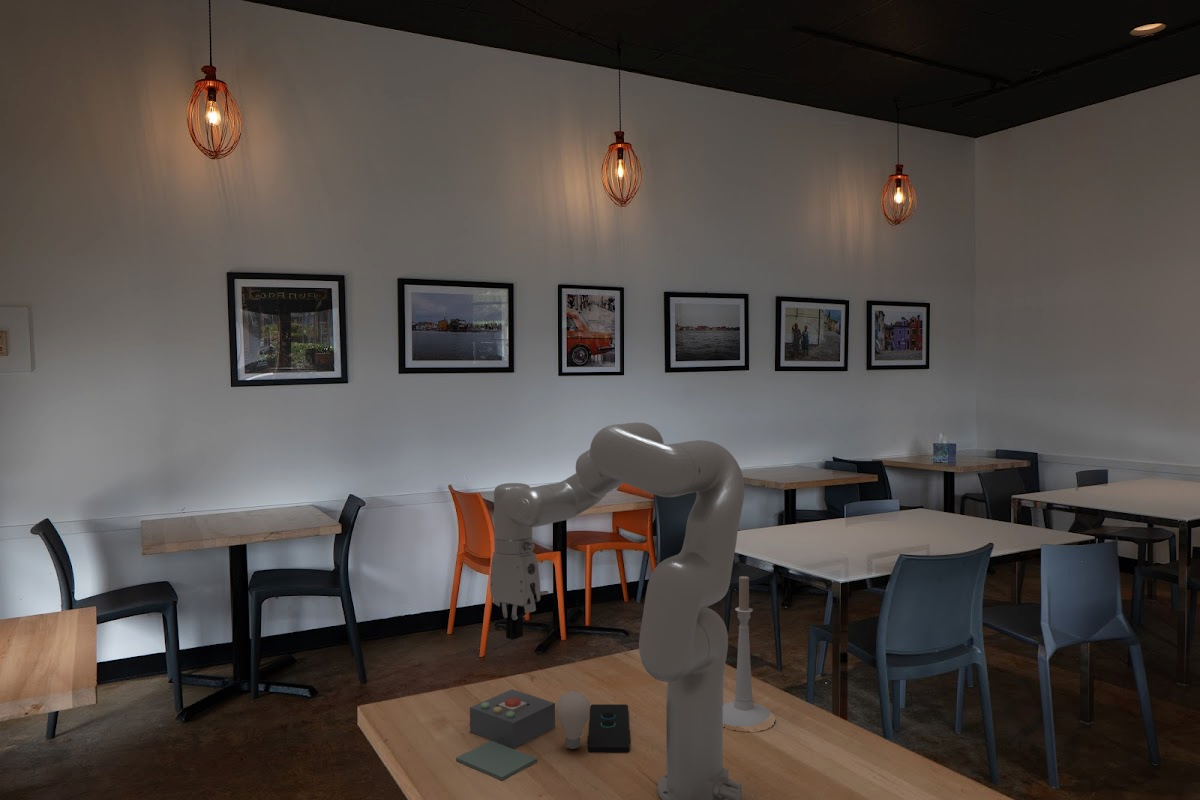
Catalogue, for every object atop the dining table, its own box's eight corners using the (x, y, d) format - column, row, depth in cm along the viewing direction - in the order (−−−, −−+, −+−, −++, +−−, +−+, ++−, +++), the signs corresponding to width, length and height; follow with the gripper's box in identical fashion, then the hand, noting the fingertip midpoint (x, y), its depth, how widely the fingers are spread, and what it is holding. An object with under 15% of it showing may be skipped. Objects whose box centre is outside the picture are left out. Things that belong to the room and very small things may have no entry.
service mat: (536, 761, 153) (536, 758, 153) (502, 780, 146) (502, 777, 146) (491, 743, 161) (491, 740, 161) (456, 760, 154) (456, 757, 154)
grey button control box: (555, 727, 168) (555, 699, 168) (513, 748, 158) (513, 718, 158) (512, 712, 175) (512, 685, 175) (470, 732, 166) (469, 703, 166)
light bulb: (586, 758, 155) (586, 700, 154) (552, 755, 156) (551, 697, 155) (593, 742, 161) (593, 686, 161) (560, 739, 162) (560, 684, 162)
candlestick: (699, 718, 172) (699, 574, 171) (739, 701, 181) (739, 564, 180) (748, 738, 163) (749, 586, 162) (788, 720, 171) (788, 575, 170)
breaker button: (526, 717, 167) (526, 700, 167) (512, 724, 164) (512, 706, 164) (512, 712, 170) (512, 695, 170) (498, 719, 167) (498, 701, 166)
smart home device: (628, 703, 177) (630, 746, 157) (628, 711, 177) (630, 755, 157) (589, 703, 177) (586, 746, 157) (589, 711, 177) (586, 755, 157)
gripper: (554, 547, 164) (555, 639, 164) (500, 538, 173) (501, 625, 173) (528, 554, 158) (529, 650, 158) (473, 544, 167) (474, 635, 168)
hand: (514, 637), depth 166 cm, fingers closed
